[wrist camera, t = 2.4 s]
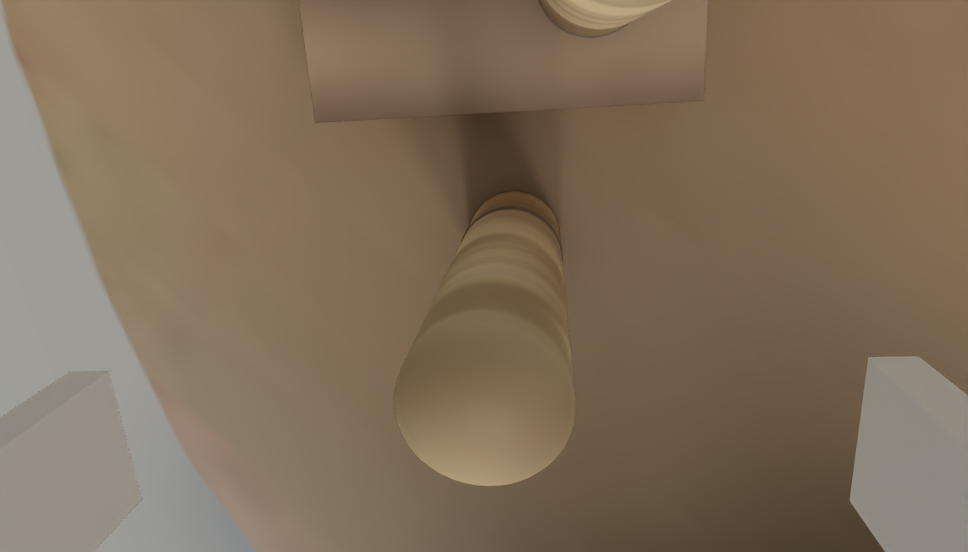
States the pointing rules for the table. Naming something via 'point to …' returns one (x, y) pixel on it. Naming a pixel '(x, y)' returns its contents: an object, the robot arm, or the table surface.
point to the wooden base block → (499, 55)
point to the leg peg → (493, 352)
